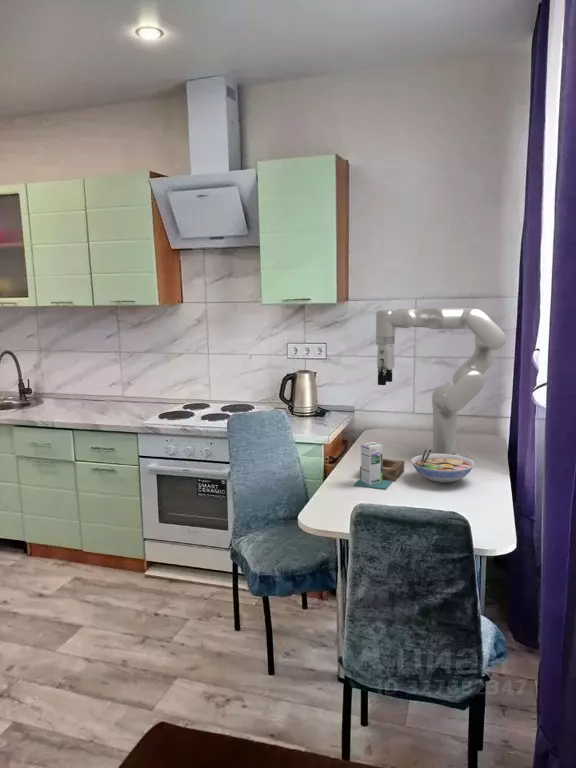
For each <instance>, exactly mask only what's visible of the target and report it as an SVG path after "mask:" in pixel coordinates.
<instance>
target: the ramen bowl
mask: <svg viewBox="0 0 576 768" xmlns="http://www.w3.org/2000/svg"><path fill="white" fill-rule="evenodd" d="M431 452H432V449H429V451H428V452H427V449H424V451H423V454H420V455H416V456H414V457H413V458H411V464H412V465H413V467H414V470H416V472H417V473H418V474H419V475H420V476H421V477H424V478H425V479H427V480H430V481H432V482H434V483H436V484H437V483H438V484H450V483H453V482H456V481H459V480H462V479H463V478H465V477H466V476H467V475H468V474H469V473H470V472H471V471H472V470H473V468H474V467H475V463H474V460H473V459H470V458H468V457H467V458H466V457H462V456H458V455H451V454H432V453H431Z"/></svg>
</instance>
